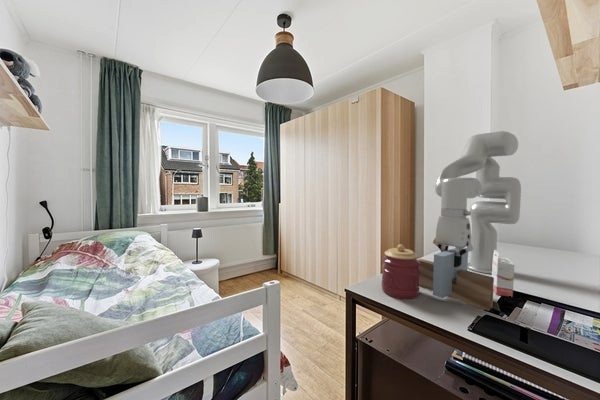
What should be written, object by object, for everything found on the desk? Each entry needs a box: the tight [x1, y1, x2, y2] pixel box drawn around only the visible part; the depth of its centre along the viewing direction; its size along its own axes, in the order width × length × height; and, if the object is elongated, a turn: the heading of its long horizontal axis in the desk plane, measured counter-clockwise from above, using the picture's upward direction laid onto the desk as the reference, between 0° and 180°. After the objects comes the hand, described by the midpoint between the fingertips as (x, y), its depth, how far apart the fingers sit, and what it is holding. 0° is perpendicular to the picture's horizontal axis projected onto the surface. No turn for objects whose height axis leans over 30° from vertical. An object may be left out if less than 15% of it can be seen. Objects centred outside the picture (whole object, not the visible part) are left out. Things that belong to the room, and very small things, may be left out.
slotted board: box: [418, 258, 494, 312], centre depth 88 cm, size 3×24×10 cm, turn 34°
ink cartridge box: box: [491, 250, 515, 298], centre depth 90 cm, size 9×5×15 cm, turn 152°
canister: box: [381, 243, 420, 300], centre depth 91 cm, size 13×13×18 cm
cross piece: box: [432, 247, 469, 299], centre depth 87 cm, size 18×3×14 cm, turn 124°
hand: (451, 264), depth 87 cm, fingers closed on cross piece, 3 cm apart
